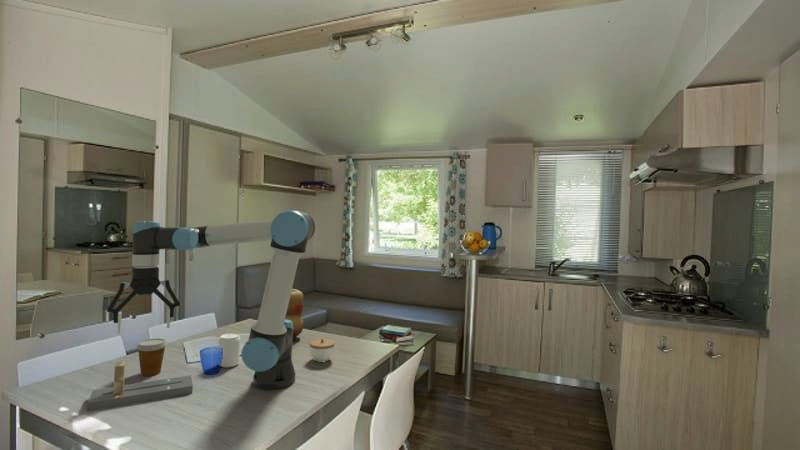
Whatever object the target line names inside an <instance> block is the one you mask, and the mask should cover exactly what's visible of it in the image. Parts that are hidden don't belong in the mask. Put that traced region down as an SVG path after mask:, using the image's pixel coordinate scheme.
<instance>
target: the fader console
mask: <svg viewBox="0 0 800 450" xmlns="http://www.w3.org/2000/svg"><path fill="white" fill-rule="evenodd" d="M188 394H193V380H192V375H191V374H189V375H182V376H175V377H170V378H162V379H157V380H150V381H142V382H136V383H129V384H124V391H123V393H122V394H116V395H114V386H110V387H103V388H96V389H92V392H91V394H90V397H89V399H88V401H87V407H86V408H87V409H86V411H87V412H91V411H97V410H102V409H107V408H114V407H120V406H125V405H131V404H138V403H142V402H148V401H154V400H160V399H166V398H171V397H172V398H173V397H177V396H183V395H188Z"/></svg>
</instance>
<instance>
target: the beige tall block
mask: <svg viewBox="0 0 800 450" xmlns="http://www.w3.org/2000/svg"><path fill="white" fill-rule="evenodd" d="M125 374H126V360H123V361H116V362H115V366H114V378H113V387H114V395H116V394H122V393H123V391H124V385H125V379H126V378H125V376H126V375H125Z"/></svg>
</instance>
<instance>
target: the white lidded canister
mask: <svg viewBox="0 0 800 450" xmlns="http://www.w3.org/2000/svg"><path fill="white" fill-rule="evenodd" d="M219 347H221V348H223V361H222V367H221V368H232V367H235V366H237V365H239V364H240V356H241V354H240V353H241V337H240V334H239V333H235V332H232V333H224V334H222V335H220V337H219V339H218V348H219Z"/></svg>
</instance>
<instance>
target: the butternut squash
mask: <svg viewBox="0 0 800 450" xmlns="http://www.w3.org/2000/svg"><path fill="white" fill-rule="evenodd" d="M304 299H305V298H304V294H303V292H302V291H300V290H298V289H295V288H292V291H291V295H290V299H289V303H288V308H287V312H286V316H285V319H287V320H291V321H292V322H293V338H292V340H293V339H295V338H296V337H298V336H299V335H300V334H302V332H303V330H304V320H303V316H302V314H303V309H304V302H305V301H304Z"/></svg>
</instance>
